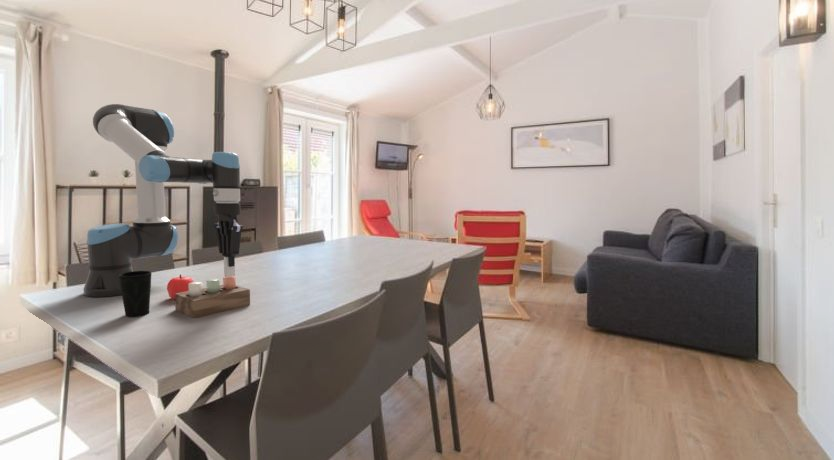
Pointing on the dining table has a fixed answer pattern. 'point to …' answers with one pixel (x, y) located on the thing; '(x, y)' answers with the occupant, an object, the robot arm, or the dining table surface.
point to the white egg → (195, 289)
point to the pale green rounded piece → (213, 286)
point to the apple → (178, 285)
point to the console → (212, 301)
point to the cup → (136, 292)
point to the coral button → (229, 283)
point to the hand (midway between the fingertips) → (229, 276)
